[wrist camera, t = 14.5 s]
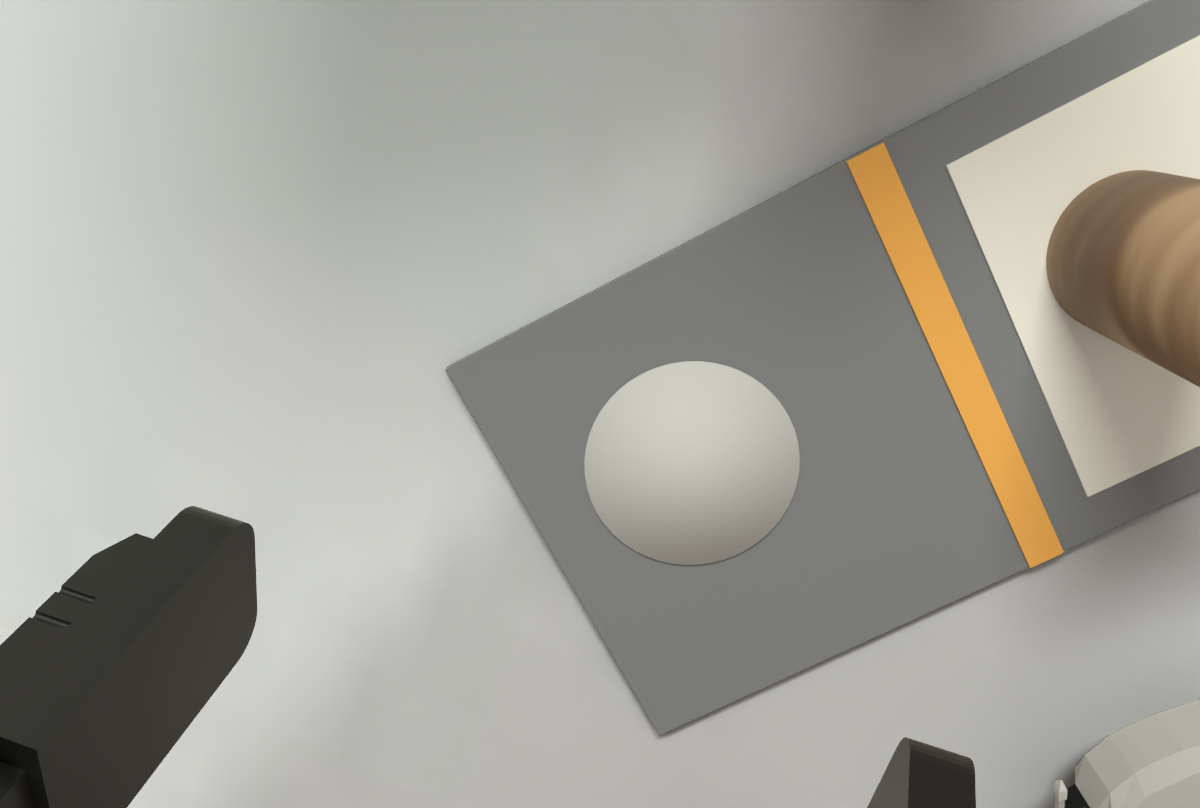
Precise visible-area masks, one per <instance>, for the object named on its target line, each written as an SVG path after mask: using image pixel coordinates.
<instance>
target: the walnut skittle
mask: <svg viewBox="0 0 1200 808" xmlns="http://www.w3.org/2000/svg"><path fill="white" fill-rule="evenodd" d="M1046 270H1047V276H1048V281H1049V284H1050V288H1051V290H1052V293H1053V295H1054V297H1055V299H1056V300H1057V302H1058V303H1059V305H1060V306H1061V307H1062V308H1063V310H1064V311H1065V312H1066V313H1067V314H1068V315H1069V316H1071V317H1072V318H1073V319H1074V320H1076V321H1078V322H1079V323H1081V324H1083V325H1084V326H1086V327H1088V328H1090V329H1092V330H1094V331H1096V332H1097V333H1099V334H1101V335H1103V336H1105V337H1107V338H1109V339H1110V340H1112V341H1114V342H1116V343H1118V344H1120V345H1122V346H1124V347H1125V348H1127V349H1129V350H1131V351H1133V352H1135V353H1137V354H1138V355H1140V356H1142V357H1144V358H1146V359H1148V360H1150V361H1152V362H1153V363H1155V364H1157V365H1159V366H1161V367H1163V368H1165V369H1166V370H1168V371H1170V372H1172V373H1174V374H1176V375H1178V376H1180V377H1181V378H1183V379H1185V380H1187V381H1189V382H1191V383H1193V384H1194V385H1196V386H1198V387H1200V179H1195V178H1190V177H1184V176H1178V175H1173V174H1167V173H1162V172H1156V171H1148V170H1133V171H1126V172H1121V173H1117V174H1113V175H1111V176H1108V177H1106V178H1103V179H1101V180H1099V181H1097V182H1096V183H1094V184H1092V185H1090V186H1089V187H1088V188H1086V189H1085V190H1083V191H1082V192H1081V193H1080V194H1079V195H1078V196H1077V197H1075V198H1074V199H1073V200H1072V201H1071V203H1070V204H1069V205H1068V206H1067V207H1066V208H1065V210H1064V211H1063V213H1062V214H1061V216H1060V217H1059V219H1058V221H1057V223H1056V225H1055V227H1054V229H1053V231H1052V234H1051V237H1050V240H1049V244H1048V248H1047V257H1046Z"/></svg>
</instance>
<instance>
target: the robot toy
mask: <svg viewBox="0 0 1200 808" xmlns="http://www.w3.org/2000/svg"><path fill="white" fill-rule="evenodd" d="M1054 792H1055V808H1200V699H1198V700H1195V701H1192V702H1189V703H1186V704H1183V705H1180V706H1177V707H1174V708H1171V709H1168V710H1165V711H1162V712H1159V713H1156V714H1153V715H1151V716H1148V717H1146V718H1144V719H1141V720H1139V721H1137V722H1135V723H1132V724H1130V725H1128V726H1125V727H1123V728H1122V729H1120V730H1118V731H1116V732H1114V733H1112V734H1111V735H1109V736H1107V737H1106V738H1104V739H1103V740H1102V741H1101V742H1100V743H1099V744H1098V745H1096V746H1095V747H1094V748H1093V749H1091V750H1090V751H1089V752H1088V753H1087V754H1085V755H1084V757H1083V758H1082V759H1081V761H1080V762H1079V764H1078V765H1077V766H1076V768H1075V784H1074V785H1073V786H1071V787H1069V788H1068V789H1066V787H1065V785H1064V783H1063V781H1062V780H1061V779H1060V780H1057V781H1055V782H1054Z"/></svg>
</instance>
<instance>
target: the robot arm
mask: <svg viewBox="0 0 1200 808" xmlns="http://www.w3.org/2000/svg"><path fill="white" fill-rule="evenodd" d="M256 616H257V592H256V564H255V537H254V531H253V528H252V526H251V525H250V524H248V523H245V522H242V521H239V520H236V519H232V518H229V517H226V516H223V515H220V514H217V513H214V512H211V511H208V510H204V509H201V508H198V507H195V506H191V507H188V508H185V509H184V510H182V511H181V512H180V513H179V514H178V515H177V516H176V517H175V518H174V519H173V520H172V521H171V522H170V523H169V524H168V525H167V526H166V527H165V528H164V529H163V530H162V531H161V532H160V533H159V534H158V535H157V536H156V537H155V538H154V539H151V538H148V537H145V536H142V535H139V534H134V535H132V536H130V537H128V538H126V539H124V540H122V541H120V542H118V543H116V544H114V545H112V546H110V547H108V548H107V549H105V550H103V551H101V552H99V553H97V554H95V555H93V556H92V557H91V558H90V559H89V560H88V561H87V562H86V563H85V564H84V565H83V566H82V567H81V568H80V569H79V570H77V571H76V572H75V573H74V574H73V575H72V576H71V577H70V578H69V579H68V580H67V581H66V582H65V583H64V584H63V585H62V588H61V590H60V592H59V593H57V592H55V593H54V594H53V595H52V596H51V597H50V598H49V599H48V600H47V601H46V602H45V603H43V604H42V605H41V606H40V607H39V608H38V609H37V610H36V614H35V616H34V617H33V618H30V617H29V618H28V619H27V620H26V621H25V622H24V623H23V624H22V625H21V626H20V627H19V628H18V629H17V630H16V631H15V632H14V633H13V634H12V635H11V636H9V637H8V638H7V639H6V640H5V641H4V642H3V643H2V644H1V645H0V808H127V807H128V805H129V804H130V803H131V801H132V800H133V799H134V797H135V796H136V795H137V793H138V792H139V791H140V789H141V788H142V787H143V785H144V784H145V783H146V782H147V780H148V779H149V778H150V776H151V775H152V774H153V772H154V771H155V770H156V768H157V767H158V766H159V764H160V763H161V762H162V760H163V759H164V758H165V757H166V755H167V754H168V753H169V751H170V750H171V749H172V747H173V746H174V745H175V743H176V742H177V741H178V739H179V738H180V737H181V735H182V734H183V733H184V731H185V730H186V729H187V728H188V726H189V725H190V724H191V722H192V721H193V720H194V718H195V717H196V716H197V714H198V713H199V712H200V710H201V709H202V708H203V706H204V705H205V704H206V703H207V701H208V700H209V699H210V697H211V696H212V695H213V693H214V692H215V691H216V689H217V688H218V687H219V685H220V684H221V683H222V681H223V680H224V679H225V678H226V676H227V675H228V674H229V672H230V671H231V670H232V668H233V667H234V666H235V664H236V663H237V662H238V660H239V659H240V657H241V656H242V654H243V652H244V651H245V649H246V647H247V645H248V643H249V640H250V638H251V635H252V632H253V629H254V626H255V622H256ZM867 808H976V798H975V769H974V764H973V761H972V760H971V759H970V758H968V757H965V756H962V755H959V754H956V753H952V752H949V751H946V750H943V749H940V748H937V747H934V746H931V745H928V744H924V743H921V742H918V741H915V740H912V739H909V738H903V739H902V740H901V742H900V743H899V745H898V747H897V749H896V751H895V753H894V755H893V757H892V759H891V761H890V763H889V765H888V767H887V769H886V771H885V773H884V775H883V777H882V779H881V781H880V783H879V785H878V787H877V789H876V791H875V793H874V795H873V797H872V799H871V801H870V803H869V805H868V807H867Z"/></svg>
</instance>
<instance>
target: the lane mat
mask: <svg viewBox="0 0 1200 808" xmlns="http://www.w3.org/2000/svg"><path fill="white" fill-rule="evenodd" d="M1133 170H1148V171H1156V172H1162V173H1167V174H1173V175H1178V176H1184V177H1190V178H1195V179H1200V0H1151V1H1149V2H1147V3H1145V4H1143V5H1141V6H1139V7H1137V8H1135V9H1134V10H1132V11H1130V12H1128V13H1126V14H1124V15H1122V16H1120V17H1118V18H1116V19H1114V20H1112V21H1111V22H1109V23H1107V24H1105V25H1103V26H1101V27H1099V28H1097V29H1095V30H1093V31H1091V32H1089V33H1087V34H1086V35H1084V36H1082V37H1080V38H1078V39H1076V40H1074V41H1072V42H1070V43H1068V44H1066V45H1064V46H1063V47H1061V48H1059V49H1057V50H1055V51H1053V52H1051V53H1049V54H1047V55H1045V56H1043V57H1041V58H1039V59H1038V60H1036V61H1034V62H1032V63H1030V64H1028V65H1026V66H1024V67H1022V68H1020V69H1018V70H1016V71H1015V72H1013V73H1011V74H1009V75H1007V76H1005V77H1003V78H1001V79H999V80H997V81H995V82H993V83H991V84H990V85H988V86H986V87H984V88H982V89H980V90H978V91H976V92H974V93H972V94H970V95H968V96H967V97H965V98H963V99H961V100H959V101H957V102H955V103H953V104H951V105H949V106H947V107H945V108H943V109H942V110H940V111H938V112H936V113H934V114H932V115H930V116H928V117H926V118H924V119H922V120H920V121H919V122H917V123H915V124H913V125H911V126H909V127H907V128H905V129H903V130H901V131H899V132H897V133H896V134H894V135H892V136H890V137H888V138H886V139H884V140H882V141H880V142H878V143H876V144H874V145H872V146H871V147H869V148H867V149H865V150H863V151H861V152H859V153H857V154H855V155H853V156H851V157H849V158H848V159H846V160H844V161H842V162H840V163H838V164H836V165H834V166H832V167H830V168H828V169H826V170H824V171H823V172H821V173H819V174H817V175H815V176H813V177H811V178H809V179H807V180H805V181H803V182H801V183H800V184H798V185H796V186H794V187H792V188H790V189H788V190H786V191H784V192H782V193H780V194H778V195H776V196H775V197H773V198H771V199H769V200H767V201H765V202H763V203H761V204H759V205H757V206H755V207H753V208H752V209H750V210H748V211H746V212H744V213H742V214H740V215H738V216H736V217H734V218H732V219H730V220H728V221H727V222H725V223H723V224H721V225H719V226H717V227H715V228H713V229H711V230H709V231H707V232H705V233H704V234H702V235H700V236H698V237H696V238H694V239H692V240H690V241H688V242H686V243H684V244H682V245H680V246H679V247H677V248H675V249H673V250H671V251H669V252H667V253H665V254H663V255H661V256H659V257H657V258H656V259H654V260H652V261H650V262H648V263H646V264H644V265H642V266H640V267H638V268H636V269H634V270H632V271H631V272H629V273H627V274H625V275H623V276H621V277H619V278H617V279H615V280H613V281H611V282H609V283H608V284H606V285H604V286H602V287H600V288H598V289H596V290H594V291H592V292H590V293H588V294H586V295H585V296H583V297H581V298H579V299H577V300H575V301H573V302H571V303H569V304H567V305H565V306H563V307H561V308H560V309H558V310H556V311H554V312H552V313H550V314H548V315H546V316H544V317H542V318H540V319H538V320H537V321H535V322H533V323H531V324H529V325H527V326H525V327H523V328H521V329H519V330H517V331H515V332H513V333H512V334H510V335H508V336H506V337H504V338H502V339H500V340H498V341H496V342H494V343H492V344H490V345H489V346H487V347H485V348H483V349H481V350H479V351H477V352H475V353H473V354H471V355H469V356H467V357H465V358H464V359H462V360H460V361H458V362H456V363H454V364H452V365H450V366H448V367H447V368H446V372H447V374H448V375H449V377H450V379H451V380H452V382H453V384H454V386H455V387H456V389H457V391H458V392H459V394H460V396H461V398H462V399H463V401H464V403H465V404H466V406H467V408H468V410H469V411H470V413H471V415H472V416H473V418H474V420H475V422H476V423H477V425H478V427H479V428H480V430H481V432H482V434H483V435H484V437H485V439H486V440H487V442H488V444H489V445H490V447H491V449H492V451H493V452H494V454H495V456H496V457H497V459H498V461H499V463H500V464H501V466H502V468H503V469H504V471H505V473H506V475H507V476H508V478H509V480H510V481H511V483H512V485H513V487H514V488H515V490H516V492H517V493H518V495H519V497H520V499H521V500H522V502H523V504H524V505H525V507H526V509H527V511H528V512H529V514H530V516H531V517H532V519H533V521H534V522H535V524H536V526H537V528H538V529H539V531H540V533H541V534H542V536H543V538H544V540H545V541H546V543H547V545H548V546H549V548H550V550H551V552H552V553H553V555H554V557H555V558H556V560H557V562H558V564H559V565H560V567H561V569H562V570H563V572H564V574H565V576H566V577H567V579H568V581H569V582H570V584H571V586H572V587H573V589H574V591H575V593H576V594H577V596H578V598H579V599H580V601H581V603H582V605H583V606H584V608H585V610H586V611H587V613H588V615H589V617H590V618H591V620H592V622H593V623H594V625H595V627H596V629H597V630H598V632H599V634H600V635H601V637H602V639H603V641H604V642H605V644H606V646H607V647H608V649H609V651H610V653H611V654H612V656H613V658H614V659H615V661H616V663H617V664H618V666H619V668H620V670H621V671H622V673H623V675H624V676H625V678H626V680H627V682H628V683H629V685H630V687H631V688H632V690H633V692H634V694H635V695H636V697H637V699H638V700H639V702H640V704H641V706H642V707H643V709H644V711H645V712H646V714H647V716H648V718H649V719H650V721H651V723H652V724H653V726H654V728H655V730H656V731H657V733H658V735H661V734H664V733H666V732H668V731H670V730H672V729H675V728H677V727H679V726H681V725H683V724H686V723H688V722H690V721H692V720H694V719H697V718H699V717H701V716H703V715H705V714H708V713H710V712H712V711H714V710H716V709H719V708H721V707H723V706H725V705H727V704H730V703H732V702H734V701H736V700H738V699H740V698H743V697H745V696H747V695H749V694H751V693H754V692H756V691H758V690H760V689H762V688H765V687H767V686H769V685H771V684H773V683H776V682H778V681H780V680H782V679H784V678H787V677H789V676H791V675H793V674H795V673H798V672H800V671H802V670H804V669H806V668H809V667H811V666H813V665H815V664H817V663H820V662H822V661H824V660H826V659H828V658H830V657H833V656H835V655H837V654H839V653H841V652H844V651H846V650H848V649H850V648H852V647H855V646H857V645H859V644H861V643H863V642H866V641H868V640H870V639H872V638H874V637H877V636H879V635H881V634H883V633H885V632H888V631H890V630H892V629H894V628H896V627H899V626H901V625H903V624H905V623H907V622H910V621H912V620H914V619H916V618H918V617H920V616H923V615H925V614H927V613H929V612H931V611H934V610H936V609H938V608H940V607H942V606H945V605H947V604H949V603H951V602H953V601H956V600H958V599H960V598H962V597H964V596H967V595H969V594H971V593H973V592H975V591H978V590H980V589H982V588H984V587H986V586H989V585H991V584H993V583H995V582H997V581H999V580H1002V579H1004V578H1006V577H1008V576H1010V575H1013V574H1015V573H1017V572H1019V571H1021V570H1024V569H1026V568H1028V567H1030V568H1032V567H1034V566H1036V565H1039V564H1041V563H1043V562H1045V561H1047V560H1050V559H1052V558H1054V557H1056V556H1058V555H1061V554H1063V553H1064V551H1065V550H1068V549H1070V548H1072V547H1074V546H1076V545H1079V544H1081V543H1083V542H1085V541H1087V540H1089V539H1092V538H1094V537H1096V536H1098V535H1100V534H1103V533H1105V532H1107V531H1109V530H1111V529H1114V528H1116V527H1118V526H1120V525H1122V524H1125V523H1127V522H1129V521H1131V520H1133V519H1136V518H1138V517H1140V516H1142V515H1144V514H1147V513H1149V512H1151V511H1153V510H1155V509H1158V508H1160V507H1162V506H1164V505H1166V504H1169V503H1171V502H1173V501H1175V500H1177V499H1179V498H1182V497H1184V496H1186V495H1188V494H1190V493H1193V492H1195V491H1197V490H1199V489H1200V387H1198V386H1196V385H1194V384H1193V383H1191V382H1189V381H1187V380H1185V379H1183V378H1181V377H1180V376H1178V375H1176V374H1174V373H1172V372H1170V371H1168V370H1166V369H1165V368H1163V367H1161V366H1159V365H1157V364H1155V363H1153V362H1152V361H1150V360H1148V359H1146V358H1144V357H1142V356H1140V355H1138V354H1137V353H1135V352H1133V351H1131V350H1129V349H1127V348H1125V347H1124V346H1122V345H1120V344H1118V343H1116V342H1114V341H1112V340H1110V339H1109V338H1107V337H1105V336H1103V335H1101V334H1099V333H1097V332H1096V331H1094V330H1092V329H1090V328H1088V327H1086V326H1084V325H1083V324H1081V323H1079V322H1078V321H1076V320H1074V319H1073V318H1072V317H1071V316H1069V315H1068V314H1067V313H1066V312H1065V311H1064V310H1063V308H1062V307H1061V306H1060V305H1059V303H1058V302H1057V300H1056V299H1055V297H1054V295H1053V293H1052V290H1051V288H1050V284H1049V281H1048V276H1047V270H1046V257H1047V248H1048V244H1049V240H1050V237H1051V234H1052V231H1053V229H1054V227H1055V225H1056V223H1057V221H1058V219H1059V217H1060V216H1061V214H1062V213H1063V211H1064V210H1065V208H1066V207H1067V206H1068V205H1069V204H1070V203H1071V201H1072V200H1073V199H1074V198H1075V197H1077V196H1078V195H1079V194H1080V193H1081V192H1082V191H1083V190H1085V189H1086V188H1088V187H1089V186H1090V185H1092V184H1094V183H1096V182H1097V181H1099V180H1101V179H1103V178H1106V177H1108V176H1111V175H1113V174H1117V173H1121V172H1126V171H1133Z"/></svg>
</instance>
